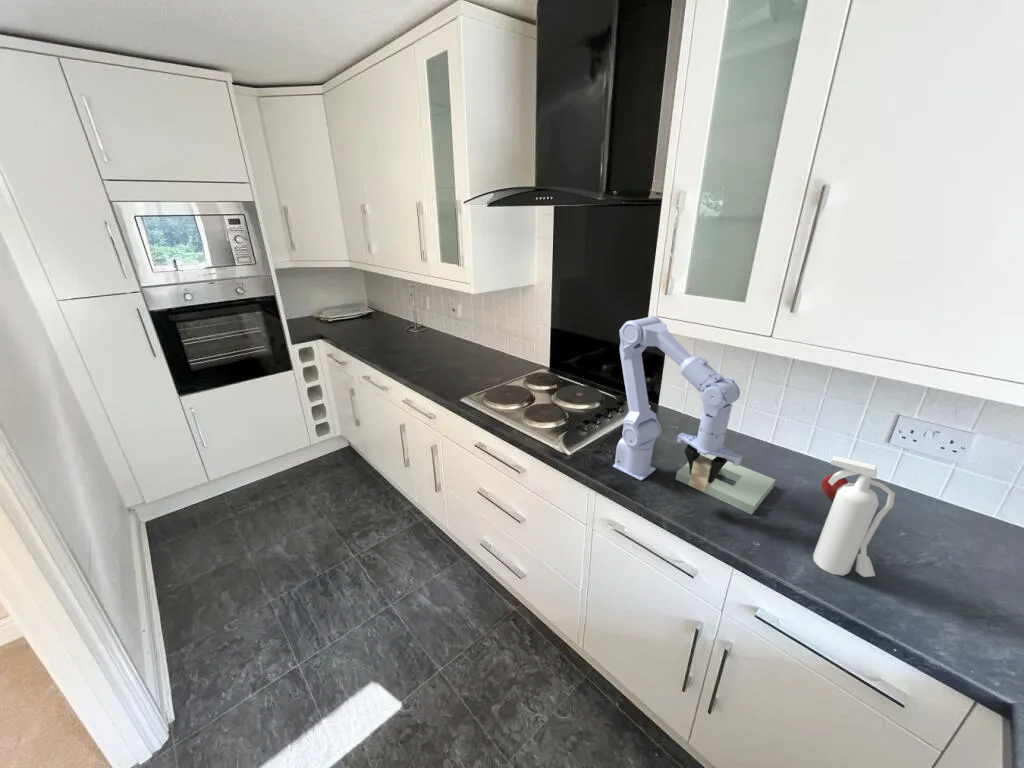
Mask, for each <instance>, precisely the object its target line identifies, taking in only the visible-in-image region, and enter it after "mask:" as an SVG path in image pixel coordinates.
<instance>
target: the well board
mask: <svg viewBox="0 0 1024 768" xmlns="http://www.w3.org/2000/svg"><path fill="white" fill-rule="evenodd" d="M700 455H702V456H705V457H707V458H710V459H712V460H713V459H714V458H716V456H713V455H709V454H707V455H703V454H700ZM717 475H720V476H721V477H724V478H726V479H728V480H732V481H733V482H735V483H734V484H733V485H731V484H729V483H727V482H726V481H725V482H724V480H723V481H722V480H720V479H719V478H717V477H716V478H715V480H714V481H713V482H712V485H711V486H710V487H709V488H708V489H707V490H706V491H705V492H703V491H701V490H699V489H696V488H694V487H692V486H690V485H689V481H690V476H691V475H690V469H689V463H688V462H687V463H686V464H685V465H683V466H682V467H681V468H680V469H679V470H676V475H675V480H676V481H678V482H681V483H683V484H685V485H688V486H689V487H691V488H693V489H696V490H698V491H700V492H702V493H704V494H706V495H709V496H711V497H713V498H716V499H717V500H720V501H721V502H724V503H726V504H728V505H730V506H733V507H734V508H736V509H739V510H740V511H743V512H745V513H748V514H750V515H753V514H754V513H755V511H756V510H757V509H758V507H759V506H760V505H761V503H762V502H763V501H764V499H765V498H766V497H767V496H768V495H769V494H770V492H771V491H772V489H773V488H774V487H775V483H776V479H775V478H772V477H770V476H767V475H765V474H762V473H760V472H758V471H754V470H752V469H750V468H748V467H745V466H743V465H740V464H739V465H738V466H735V465H733V463H732V462H729V461H727V462H726V463H725V465H724V466H723V467H722V468H721V469H720V471H719V472H718V474H717Z"/></svg>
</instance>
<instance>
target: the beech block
mask: <svg viewBox="0 0 1024 768" xmlns="http://www.w3.org/2000/svg"><path fill="white" fill-rule="evenodd" d="M711 461H712V459H710V458H707V457H705V456H702V455H700V456H699V457H698V458H697V459H696V460H694V462H693V466H692V471H691V476H690V481H689V485H690V486H689V485H688V486H689V487H691V486H692V487H691V488H693V487H694V488H693V489H695V488H696V490H698V489H699V490H698V491H700V490H701V491H700V492H702V491H703V492H702V493H704V492H705V491H706V490H707V489H708V488H709V487H710V486H711V485H712V483H711V484H710V483H708V480H709V476H710V472H711Z"/></svg>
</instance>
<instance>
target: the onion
mask: <svg viewBox="0 0 1024 768" xmlns="http://www.w3.org/2000/svg"><path fill="white" fill-rule="evenodd" d="M834 474H835V473H833V474H830V475H828V476H825V478H823V479H822V481H821V490H822V491H823V493H824V495H826V496H827V497H828V499H830V500H834V498H835V496H836V493H837V490H838V488H839V487H841V486H842V485H844V484H846V483H849V481H848V480H847V478H846V477H844V478H842V479H839V480H837V481H836V482H835V483H834V484H833V485H831V484H830V483H829V482H828V481H829V480H830V478H831V477H832V476H833V475H834Z"/></svg>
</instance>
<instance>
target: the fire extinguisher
mask: <svg viewBox="0 0 1024 768" xmlns="http://www.w3.org/2000/svg"><path fill="white" fill-rule="evenodd" d="M830 465H832V466H835V467H839V468H842V470H840V471H837V472H835V473H833V474H834V475H833V474H832V475H833V476H832V477H831V478H830V480H829V481H828V482H829V483H830V484H831V485H833V484H834V483H835V482H836V481H837V480H839V479H842V478H847V477H849V476H854V475H857V476H858V475H859V476H858V477H857V479H856V481H855V482H853V483H852V482H848V483H846V484H844V485H842V486H841V487H839V488H838V490H837V493H836V496H835V498H834V499H833V501H832V504H831V506H830V509H829V512H828V515H827V516H826V519H825V523H824V524H823V528H822V530H821V534H820V535H819V538H818V541H817V543H816V546H815V549H814V552H813V555H812V557H813V562H814V563H815V564H816V565H817V566H818V567H819V568H820V569H822V570H823V571H826V572H827V573H829V574H832V575H837V576H842V577H843V576H845V575H847V574H849V573H850V572H851V570H852V567H853V565H854V563H855V560H856V563H855V564H856V565H855V572H856V573H858V574H859V575H860V576H862V577H863V578H868V577H876V574H875V570H874V567H873V564H872V561H871V557H869V556H868V555H867V553H868V552H867V550H868V549H867V547H868V545H869V543H870V542H871V539H872V537H874V536H873V535H874V534H875V532H876V531H877V529H878V527H879V525H880V524H881V522H882V521H883V518H884V517H885V516H886V515H887V514H888V513H889V511H890V510H891V509H892V508H893V507H894V502H895V496H896V493H895V491H893V490H892V489H890V487H888V486H887V485H886V484H884V483H883V482H879V481H876V478H877V476H878V475H877V474H878V472H877V465H875V464H872V463H868V462H863V461H859V460H854V459H850V458H845V457H841V456H837V455H833V456H832V458H831V461H830ZM874 479H875V480H874ZM871 485H873V486H875V487H878V488H880V489H882V491H884V492H886V493H887V499H886V503H885V505H884V506H883V507H882V508H881V509H880V510H879V511H878V513H877V514H876V512H877V509H878V507H879V499H878V496H877V493H876V492H875V491H874V490H872V489H870V486H871ZM875 514H876V516H875ZM874 516H875V518H874ZM873 518H874V519H873ZM859 551H860V553H859Z"/></svg>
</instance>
